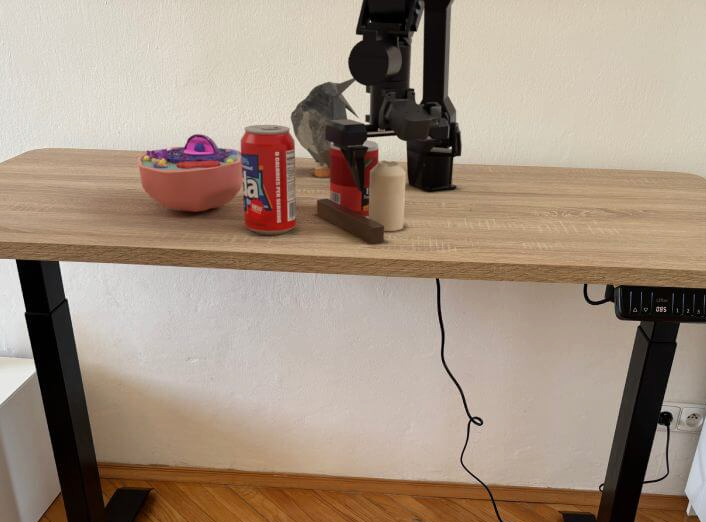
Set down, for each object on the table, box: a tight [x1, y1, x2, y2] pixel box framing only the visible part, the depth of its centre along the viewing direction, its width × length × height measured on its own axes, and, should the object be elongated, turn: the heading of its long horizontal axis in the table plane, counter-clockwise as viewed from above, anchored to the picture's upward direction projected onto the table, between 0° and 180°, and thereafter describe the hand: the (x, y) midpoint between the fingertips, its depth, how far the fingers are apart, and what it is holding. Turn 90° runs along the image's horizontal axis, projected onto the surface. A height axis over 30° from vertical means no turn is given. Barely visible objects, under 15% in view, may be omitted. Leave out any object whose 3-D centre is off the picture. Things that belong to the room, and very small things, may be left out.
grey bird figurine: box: [290, 77, 360, 178], centre depth 153 cm, size 14×15×18 cm
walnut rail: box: [316, 198, 385, 245], centre depth 122 cm, size 2×18×2 cm, turn 31°
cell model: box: [136, 133, 243, 213], centre depth 127 cm, size 17×20×11 cm
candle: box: [368, 160, 407, 232], centre depth 121 cm, size 6×6×10 cm
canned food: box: [329, 139, 379, 217], centre depth 130 cm, size 8×8×11 cm
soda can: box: [240, 124, 297, 236], centre depth 117 cm, size 8×8×15 cm
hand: (386, 188), depth 121 cm, fingers open, 9 cm apart
